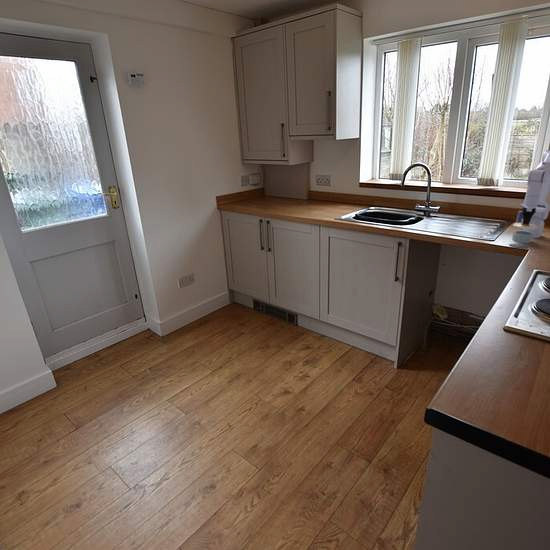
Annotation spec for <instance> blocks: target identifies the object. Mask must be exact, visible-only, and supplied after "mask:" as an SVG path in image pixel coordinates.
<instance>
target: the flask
mask: <svg viewBox="0 0 550 550" xmlns="http://www.w3.org/2000/svg"><path fill="white" fill-rule="evenodd" d="M522 219H523V212H522V210H519V211H517V216H516V220H515V223H521V222H522Z"/></svg>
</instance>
